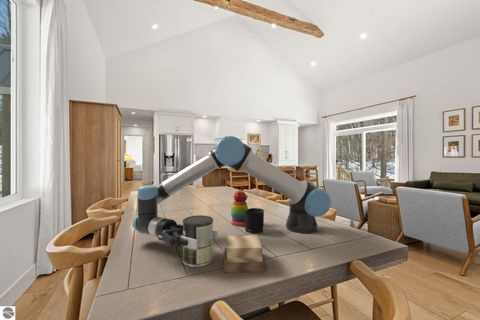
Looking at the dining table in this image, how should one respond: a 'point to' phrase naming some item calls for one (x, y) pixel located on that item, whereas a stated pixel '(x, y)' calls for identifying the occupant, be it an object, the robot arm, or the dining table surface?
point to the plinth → (243, 265)
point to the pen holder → (254, 220)
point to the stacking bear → (239, 209)
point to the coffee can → (198, 240)
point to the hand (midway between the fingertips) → (207, 239)
